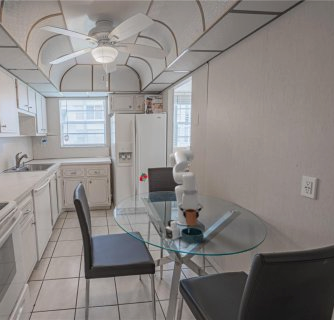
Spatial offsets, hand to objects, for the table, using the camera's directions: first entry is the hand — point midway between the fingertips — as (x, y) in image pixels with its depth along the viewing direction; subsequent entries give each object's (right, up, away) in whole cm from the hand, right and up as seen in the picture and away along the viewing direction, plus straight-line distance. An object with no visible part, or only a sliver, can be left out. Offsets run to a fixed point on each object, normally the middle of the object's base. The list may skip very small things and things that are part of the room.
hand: (191, 217), depth 145 cm
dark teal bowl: (+1, -15, +1) cm, 15 cm away
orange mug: (+1, -4, +2) cm, 5 cm away
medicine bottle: (-10, -16, +7) cm, 20 cm away
